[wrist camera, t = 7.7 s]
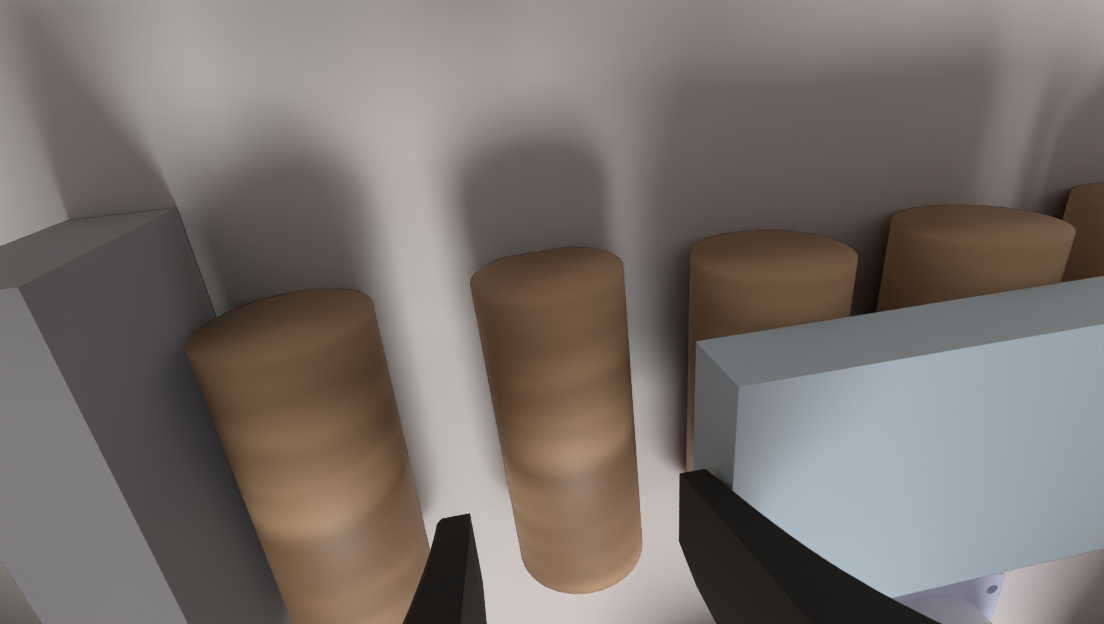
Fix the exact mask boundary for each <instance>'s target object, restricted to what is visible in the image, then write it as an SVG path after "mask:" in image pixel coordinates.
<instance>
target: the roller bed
mask: <svg viewBox="0 0 1104 624" xmlns="http://www.w3.org/2000/svg"><path fill="white" fill-rule="evenodd" d="M857 262H858V255H857V253H856V251H855V250H853V249H852V248H851V247H850V246H848V245H846V244H844V243H842V242H840V241H837V240H834V239H831V238H828V237H823V236H819V235H814V234H809V233H802V232H793V231H778V230H755V231H741V232H733V233H726V234H721V235H717V236H713V237H710V238H707V239H704V240H702V241H700V242H698V243H697V244H695V245H694V246H693V247H692V249H691V250H690V280H689V340H688V401H687V461H686V472H690V471H693V455H694V411H695V367H696V341H702V340H708V339H715V338H721V337H727V336H733V335H739V334H746V333H752V332H758V331H764V330H771V329H777V328H783V327H789V326H795V325H802V324H808V323H814V322H820V321H827V320H833V319H839V318H845V317H850V311H851V304H852V297H853V290H854V283H855V276H856V269H857ZM1100 276H1104V182H1103V183H1093V184H1086V185H1081V186H1078V187H1075V188H1073V189H1072V190H1071V192H1070V195H1069V198H1068V202H1067V205H1066V209H1065V212H1064V216H1063V219H1062V220H1061V219H1058V218H1055V217H1052V216H1048V215H1044V214H1040V213H1036V212H1031V211H1025V210H1019V209H1012V208H1004V207H994V206H980V205H935V206H924V207H917V208H911V209H907V210H903V211H900V212H898V213H896V214H895V215H893V217H892V219H891V225H890V231H889V237H888V243H887V249H886V255H885V261H884V268H883V274H882V280H881V286H880V292H879V298H878V304H877V310H876V312H883V311H889V310H895V309H901V308H908V307H914V306H920V305H926V304H932V303H939V302H945V301H951V300H957V299H964V298H970V297H976V296H982V295H988V294H995V293H1001V292H1007V291H1013V290H1020V289H1026V288H1032V287H1038V286H1044V285H1051V284H1057V283H1063V282H1069V281H1076V280H1082V279H1088V278H1094V277H1100ZM184 349H185V353H186V355H187V358H188V360H189V363H190V365H191V368H192V370H193V373H194V375H195V378H196V380H197V383H198V386H199V388H200V391H201V393H202V396H203V398H204V401H205V403H206V406H207V408H208V411H209V413H210V416H211V418H212V421H213V423H214V426H215V429H216V431H217V434H218V436H219V439H220V441H221V444H222V446H223V449H224V451H225V454H226V456H227V459H228V461H229V464H230V467H231V469H232V472H233V474H234V477H235V479H236V482H237V484H238V487H239V489H240V492H241V494H242V497H243V499H244V502H245V504H246V507H247V510H248V512H249V515H250V517H251V520H252V522H253V525H254V527H255V530H256V532H257V535H258V537H259V540H260V542H261V545H262V548H263V550H264V553H265V555H266V558H267V560H268V563H269V565H270V568H271V570H272V573H273V575H274V578H275V580H276V583H277V586H278V588H279V591H280V593H281V596H282V598H283V601H284V603H285V606H286V608H287V611H288V613H289V616H290V618H291V621H292V623H293V624H402V623H403V621H404V619H405V617H406V614H407V612H408V610H409V607H410V605H411V602H412V600H413V597H414V595H415V592H416V590H417V587H418V584H419V582H420V579H421V577H422V574H423V571H424V568H425V565H426V562H427V559H428V556H429V553H430V547H429V543H428V539H427V535H426V530H425V526H424V522H423V517H422V513H421V509H420V504H419V500H418V496H417V491H416V487H415V483H414V479H413V474H412V470H411V466H410V461H409V457H408V453H407V448H406V444H405V440H404V436H403V431H402V427H401V423H400V418H399V414H398V410H397V405H396V401H395V397H394V392H393V388H392V384H391V380H390V375H389V371H388V367H387V362H386V358H385V354H384V349H383V345H382V341H381V337H380V332H379V328H378V324H377V319H376V315H375V311H374V306H373V302H372V300H371V299H370V298H369V297H368V296H367V295H365V294H363V293H360V292H357V291H352V290H346V289H316V290H307V291H300V292H293V293H288V294H283V295H278V296H274V297H270V298H266V299H263V300H259V301H256V302H253V303H250V304H247V305H244V306H241V307H239V308H236V309H234V310H231V311H229V312H227V313H224V314H222V315H220V316H218V317H216V318H214V319H212V320H211V321H209V322H207V323H206V324H204V325H203V326H201V327H200V328H199V329H197V330H196V331H195V332H194V333H193V334H192V335H191V336H190V337H189V338H188V339H187V341H186V343H185V348H184Z"/></svg>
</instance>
